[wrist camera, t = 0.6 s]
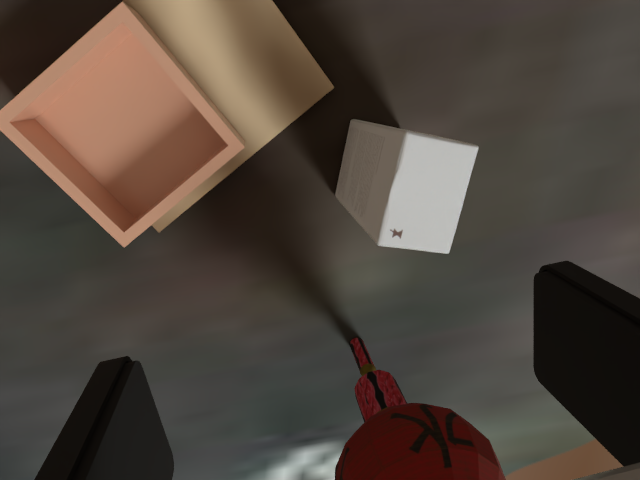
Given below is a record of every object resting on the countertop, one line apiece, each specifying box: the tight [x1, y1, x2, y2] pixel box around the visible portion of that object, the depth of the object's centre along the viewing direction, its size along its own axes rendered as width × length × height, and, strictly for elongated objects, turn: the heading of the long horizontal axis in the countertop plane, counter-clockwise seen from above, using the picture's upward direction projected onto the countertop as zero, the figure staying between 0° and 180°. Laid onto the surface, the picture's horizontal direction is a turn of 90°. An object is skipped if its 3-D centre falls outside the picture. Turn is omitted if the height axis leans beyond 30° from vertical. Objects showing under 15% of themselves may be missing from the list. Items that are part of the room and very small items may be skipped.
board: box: [21, 0, 334, 232], centre depth 30 cm, size 16×12×1 cm
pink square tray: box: [0, 2, 245, 247], centre depth 28 cm, size 10×10×4 cm
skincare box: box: [335, 119, 479, 254], centre depth 28 cm, size 6×4×12 cm
